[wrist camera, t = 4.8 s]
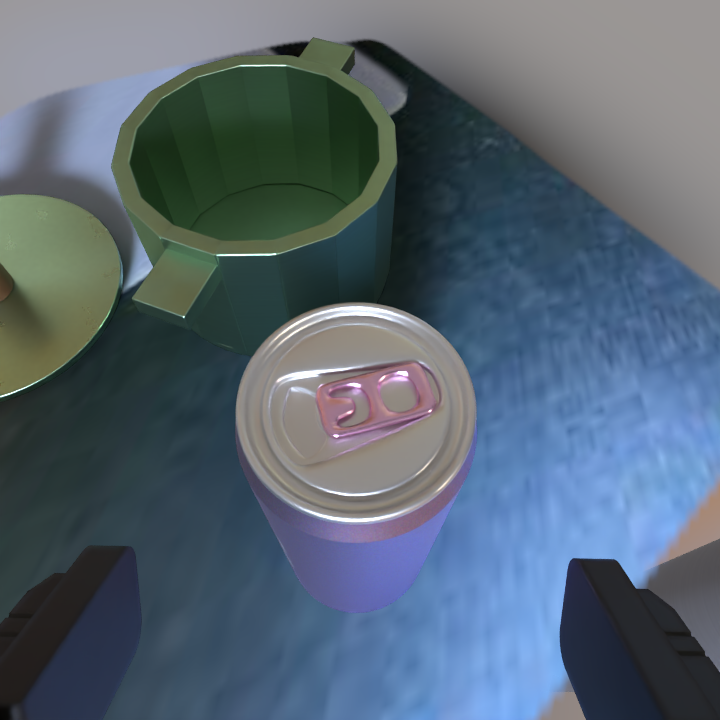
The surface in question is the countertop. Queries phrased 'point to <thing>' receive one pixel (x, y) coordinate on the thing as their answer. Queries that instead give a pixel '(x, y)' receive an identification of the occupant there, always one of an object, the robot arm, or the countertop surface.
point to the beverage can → (356, 446)
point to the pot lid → (51, 288)
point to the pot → (259, 192)
